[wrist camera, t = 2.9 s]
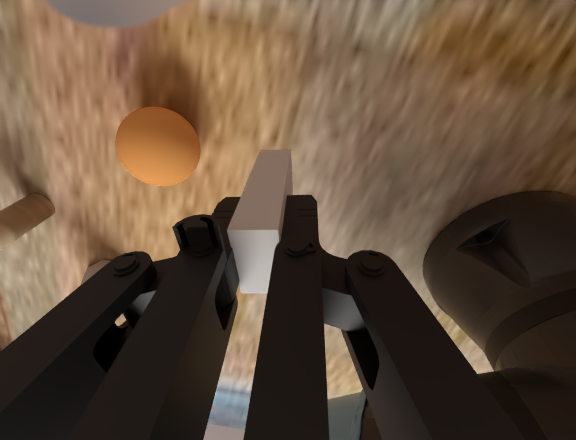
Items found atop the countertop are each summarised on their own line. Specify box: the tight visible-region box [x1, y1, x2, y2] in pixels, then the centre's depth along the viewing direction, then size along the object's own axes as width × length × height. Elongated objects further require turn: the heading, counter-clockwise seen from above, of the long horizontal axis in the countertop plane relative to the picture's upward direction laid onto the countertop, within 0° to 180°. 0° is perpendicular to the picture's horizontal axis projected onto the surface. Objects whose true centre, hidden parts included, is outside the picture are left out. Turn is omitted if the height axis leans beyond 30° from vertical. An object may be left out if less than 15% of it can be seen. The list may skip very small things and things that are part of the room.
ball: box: [115, 107, 200, 186], centre depth 20 cm, size 6×6×6 cm
